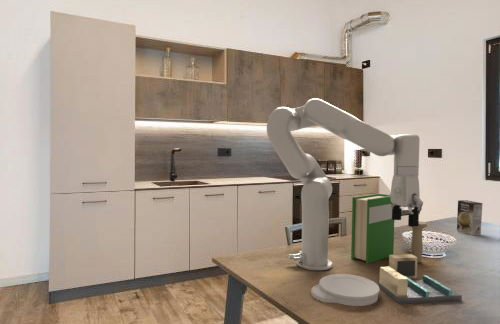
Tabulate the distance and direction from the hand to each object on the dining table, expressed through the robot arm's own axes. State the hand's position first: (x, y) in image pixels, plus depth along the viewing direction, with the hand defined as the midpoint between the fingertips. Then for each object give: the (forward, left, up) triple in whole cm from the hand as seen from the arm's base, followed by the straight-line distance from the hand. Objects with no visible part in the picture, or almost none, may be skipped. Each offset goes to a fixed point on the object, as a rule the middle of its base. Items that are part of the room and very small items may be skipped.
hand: (404, 222), depth 117 cm
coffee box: (+68, +53, -18) cm, 88 cm away
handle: (+14, +14, -18) cm, 27 cm away
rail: (-3, -13, -18) cm, 23 cm away
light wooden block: (0, 0, -18) cm, 18 cm away
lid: (-25, -11, -19) cm, 33 cm away
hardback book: (0, +21, -18) cm, 28 cm away
